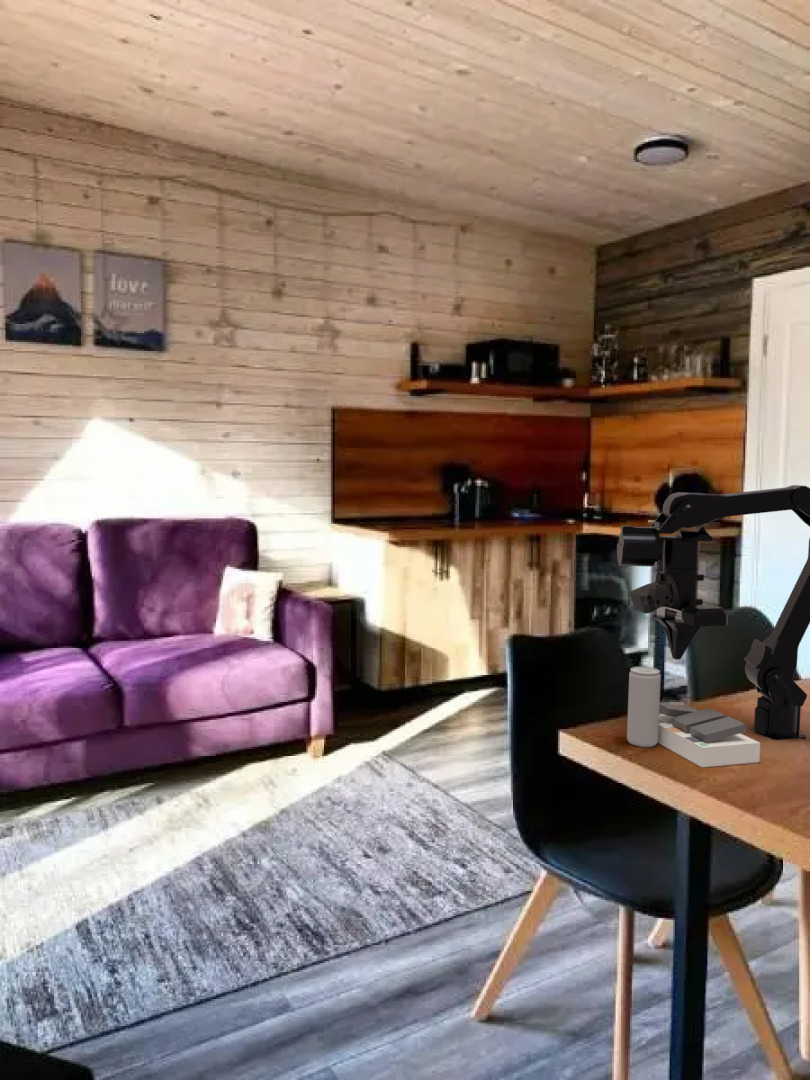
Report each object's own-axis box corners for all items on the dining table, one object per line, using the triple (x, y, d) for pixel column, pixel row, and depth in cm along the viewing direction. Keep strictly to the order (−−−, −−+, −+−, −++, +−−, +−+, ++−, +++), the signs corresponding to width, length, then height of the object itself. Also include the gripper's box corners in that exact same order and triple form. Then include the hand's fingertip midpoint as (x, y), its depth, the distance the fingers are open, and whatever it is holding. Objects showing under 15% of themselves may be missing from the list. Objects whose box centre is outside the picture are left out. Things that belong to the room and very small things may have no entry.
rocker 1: (690, 713, 143) (691, 706, 143) (704, 720, 140) (706, 713, 140) (654, 709, 141) (655, 702, 141) (667, 716, 138) (669, 708, 138)
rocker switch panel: (692, 728, 146) (693, 710, 145) (759, 762, 129) (760, 741, 129) (640, 732, 143) (641, 714, 143) (701, 767, 127) (702, 746, 126)
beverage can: (659, 749, 134) (662, 674, 134) (627, 747, 135) (630, 672, 134) (656, 740, 139) (659, 667, 138) (625, 737, 140) (628, 665, 139)
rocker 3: (729, 723, 134) (728, 716, 134) (746, 731, 130) (745, 724, 130) (690, 734, 132) (689, 727, 132) (706, 742, 128) (705, 735, 128)
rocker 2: (709, 715, 139) (709, 707, 138) (725, 722, 135) (724, 714, 135) (672, 725, 137) (671, 718, 137) (686, 732, 133) (685, 725, 133)
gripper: (609, 561, 150) (606, 649, 151) (670, 575, 132) (665, 674, 134) (665, 561, 153) (662, 647, 154) (732, 573, 135) (727, 671, 137)
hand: (676, 659), depth 145 cm, fingers closed
